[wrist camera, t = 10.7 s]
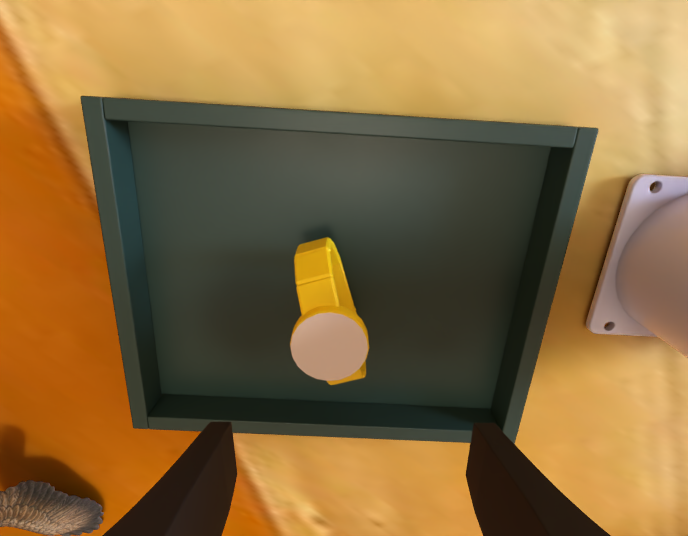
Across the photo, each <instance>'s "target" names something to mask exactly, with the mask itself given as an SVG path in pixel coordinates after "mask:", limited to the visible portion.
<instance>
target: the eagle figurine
mask: <svg viewBox="0 0 688 536" xmlns="http://www.w3.org/2000/svg"><path fill="white" fill-rule="evenodd" d="M54 489H55V487H54V486H51V485H50V483H48V482H46V483H45V482H43V481H37V482H35V481H33V480H27V481H26V482H25V481H22V482H20V483H19V484H18V485H17V486H15V487H9V488H7V489H6V490H5V491H4V492H3V491H0V527H4V526H8V527H15V528H20V529H24V530H28V531H31V532H35V533H40V534H44V535H50V536H51V535H58V534H60V535H62V536H70V535H81V534H82V533H83V532H84V533H92V532H93V530H97V529H99V524H101V523H102V522H103V520H102V519H101V518H100V517H99V516H102V515H103V514H104V513H103V512H101V510H102V509H103V508H102V506H101V505H100V504H98V503H96V501H94V500H90V498H83V499H81V498H80V497H78V496H76V495H71V496H68V494H67V493H62V491H55V490H54Z"/></svg>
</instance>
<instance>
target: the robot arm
mask: <svg viewBox="0 0 688 536" xmlns="http://www.w3.org/2000/svg"><path fill="white" fill-rule="evenodd" d="M653 182H655V187H654V189H653V190H651V191H650V190H649V188H650V185H651V184H652V183H653ZM607 322H610V323H609V325H607V326H606V327H604V325H605V324H606V323H607ZM586 327H587V328H588V329H589V330H590V331H591V332H592V333H595V334H610V335H631V336H651V337H659V338H661V339H662V340H663V341H665V342H666V343H668V344H669V345H670V346H672V347H673V348H675V349H676V350H677V351H679V352H680V353H682V354H683V355H684V356H686V357H687V358H688V177H684V176H668V175H651V174H639V175H636V176H635V177H633V178H632V179H631V180H630V182H629V184H628V187H627V190H626V194H625V197H624V200H623V203H622V207H621V210H620V213H619V216H618V220H617V223H616V226H615V229H614V233H613V236H612V239H611V242H610V246H609V249H608V252H607V255H606V259H605V262H604V265H603V269H602V272H601V275H600V278H599V282H598V285H597V288H596V291H595V295H594V298H593V301H592V304H591V308H590V311H589V314H588V317H587V321H586ZM236 477H237V468H236V459H235V450H234V442H233V433H232V424H231V422H210V423H209V424H208V425H207V426H206V427H205V428H204V429H203V431H202V432H201V433H200V434H199V435H198V437H197V438H196V439H195V440H194V441H193V443H192V444H191V445H190V446H189V447H188V448H187V450H186V451H185V452H184V453H183V454H182V455H181V457H180V458H179V459H178V460H177V461H176V462H175V463H174V464H173V466H172V467H171V468H170V469H169V470H168V471H167V472H166V473H165V474H164V476H163V477H162V478H161V479H160V480H159V481H158V482H157V483H156V484H155V485H154V486H153V487H152V488H151V489H150V490H149V491H148V492H147V493H146V494H145V496H144V497H143V498H142V499H141V500H140V501H139V502H138V503H137V504H136V505H135V506H134V507H133V508H132V509H131V510H130V511H129V512H128V513H127V514H125V515H124V516H123V517H122V518H121V519H120V520H119V521H118V522H117V523H116V524H115V525H114V526H113V527H112V528H110V529H109V530H108V531H107V532H106V533H105V534H104V535H103V536H221V535H222V532H223V529H224V526H225V523H226V520H227V517H228V514H229V510H230V506H231V501H232V497H233V492H234V487H235V482H236ZM466 478H467V482H468V487H469V491H470V495H471V499H472V503H473V507H474V511H475V514H476V517H477V519H478V522H479V525H480V528H481V531H482V533H483V536H610V535H609V534H608V533H607V532H606V531H604V530H603V529H602V528H601V527H599V526H598V525H597V524H596V523H595V522H594V521H592V520H591V519H590V518H589V517H588V516H587V515H585V514H584V513H583V512H582V511H581V510H580V509H579V508H578V507H577V506H576V505H574V504H573V503H572V502H571V501H570V500H569V499H568V498H567V497H566V496H565V495H564V494H563V493H561V492H560V491H559V490H558V489H557V488H556V487H555V486H554V485H553V484H552V483H551V482H550V481H549V480H548V479H547V478H546V477H545V476H544V475H543V474H542V473H541V472H540V471H539V470H538V469H537V468H536V467H535V466H534V465H533V464H532V462H531V461H530V460H529V459H528V458H527V457H526V456H525V455H524V454H523V453H522V452H521V451H520V450H519V449H518V448H517V447H516V446H515V444H514V443H513V442H512V441H511V440H510V439H509V438H508V437H507V436H506V435H505V434H504V433H503V432H502V430H501V429H500V428H499V427H498V426H497V425H496V424H495V423H474V425H473V431H472V437H471V444H470V450H469V457H468V463H467V470H466Z"/></svg>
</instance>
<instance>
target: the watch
mask: <svg viewBox="0 0 688 536" xmlns="http://www.w3.org/2000/svg"><path fill="white" fill-rule="evenodd" d="M294 258H295V259H294V265H295V282H296V285H297V287H296V289H297V294H298V299H299V304H300V309H301V314H302V316H301V317H300V318H299V319H298V321H297V322H296V324H295V326H294V328H293V332H292V336H291V342H290V347H291V353H292V357H293V359H294V361H295V362H296V364H297V366H298V367H299V368H300V369H301V370H302V371H303V372H304V373H306V374H307V375H309V376H311V377H313V378H316V379H320V380H325V381H327V383H328V384H330V385H335V384H339V383H344V382H348V381H352V380H357V379H361V378H364V377H365V376H366V361H365V360H366V358H367V355H368V351H369V341H368V331H367V328H366V326H365V324H364V322H363V320H362V319H361V318H360V317H359V316H358V315H357V313H356V308H355V307H354V303H353V300H352V296H351V293H350V289H349V286H348V282H347V279H346V275H345V272H344V269H343V265H342V262H341V258H340V255H339V253H338V251H337V248H336V246H335V244H334V242H333V241H332V240H331V239H330V238H328V237H326V238H322V239H318V240H315V241H311V242H307V243H303V244H300V245H299V246H298V247H297V250H296V254H295V257H294Z"/></svg>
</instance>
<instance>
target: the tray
mask: <svg viewBox="0 0 688 536" xmlns="http://www.w3.org/2000/svg"><path fill="white" fill-rule="evenodd" d="M81 104H82V110H83V116H84V122H85V129H86V135H87V141H88V147H89V154H90V160H91V166H92V172H93V179H94V185H95V191H96V197H97V204H98V210H99V216H100V222H101V229H102V235H103V241H104V247H105V254H106V260H107V266H108V272H109V279H110V285H111V291H112V297H113V304H114V310H115V316H116V322H117V329H118V335H119V341H120V347H121V353H122V360H123V366H124V372H125V378H126V385H127V391H128V397H129V403H130V410H131V416H132V422H133V428H138V429H157V430H181V431H203V429H204V428H205V427H206V426H207V425H208V424H209V423H210V422H231V424H232V433H251V434H275V435H299V436H322V437H346V438H369V439H393V440H416V441H440V442H463V443H471V437H472V431H473V425H474V423H495V424H496V425H497V426H498V427H499V428H500V429H501V430H502V432H503V433H504V434H505V435H506V436H507V437H508V438H509V439H510V440H511V441H512V442H513V443H515V440H516V436H517V432H518V429H519V425H520V421H521V417H522V414H523V410H524V406H525V402H526V399H527V395H528V391H529V387H530V384H531V380H532V376H533V373H534V369H535V365H536V361H537V358H538V354H539V350H540V346H541V343H542V339H543V335H544V332H545V328H546V324H547V320H548V317H549V313H550V309H551V305H552V302H553V298H554V294H555V290H556V287H557V283H558V279H559V276H560V272H561V268H562V264H563V261H564V257H565V253H566V249H567V246H568V242H569V238H570V234H571V231H572V227H573V223H574V220H575V216H576V212H577V208H578V205H579V201H580V197H581V193H582V190H583V186H584V182H585V178H586V175H587V171H588V167H589V164H590V160H591V156H592V152H593V149H594V145H595V141H596V137H597V134H598V128H589V127H574V126H558V125H542V124H526V123H510V122H494V121H478V120H462V119H446V118H430V117H414V116H398V115H382V114H366V113H350V112H334V111H319V110H303V109H287V108H271V107H255V106H239V105H223V104H207V103H191V102H175V101H159V100H143V99H127V98H111V97H95V96H81ZM326 237H328V238H330V239H331V240H332V241H333V242H334V244H335V246H336V248H337V251H338V253H339V255H340V258H341V262H342V265H343V269H344V272H345V275H346V279H347V282H348V286H349V289H350V293H351V296H352V300H353V303H354V307H355V308H356V313H357V315H358V316H359V317H360V318H361V319H362V320H363V322H364V324H365V326H366V328H367V331H368V341H369V351H368V355H367V358H366V360H365V361H366V376H365V377H364V378H361V379H357V380H352V381H348V382H344V383H339V384H335V385H330V384H328V383H327V381H325V380H320V379H316V378H313V377H311V376H309V375H307V374H306V373H304V372H303V371H302V370H301V369H300V368H299V367H298V366H297V364H296V362H295V361H294V359H293V357H292V353H291V347H290V342H291V336H292V332H293V328H294V326H295V324H296V322H297V321H298V319H299V318H300V317H301V316H302V314H301V309H300V304H299V299H298V294H297V289H296V287H297V285H296V282H295V265H294V259H295V258H294V257H295V254H296V250H297V247H298V246H299V245H300V244H303V243H307V242H311V241H315V240H318V239H322V238H326Z"/></svg>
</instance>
